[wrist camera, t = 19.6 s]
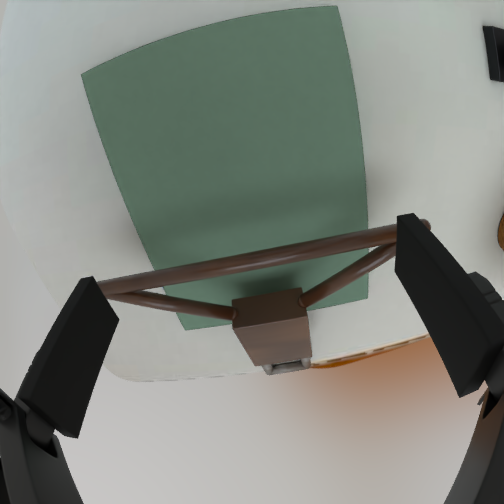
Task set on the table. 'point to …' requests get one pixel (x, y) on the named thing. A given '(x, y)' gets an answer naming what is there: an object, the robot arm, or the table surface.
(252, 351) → the hanger
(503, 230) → the disposable coffee cup
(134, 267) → the table surface
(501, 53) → the black and grey stand
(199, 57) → the mat
